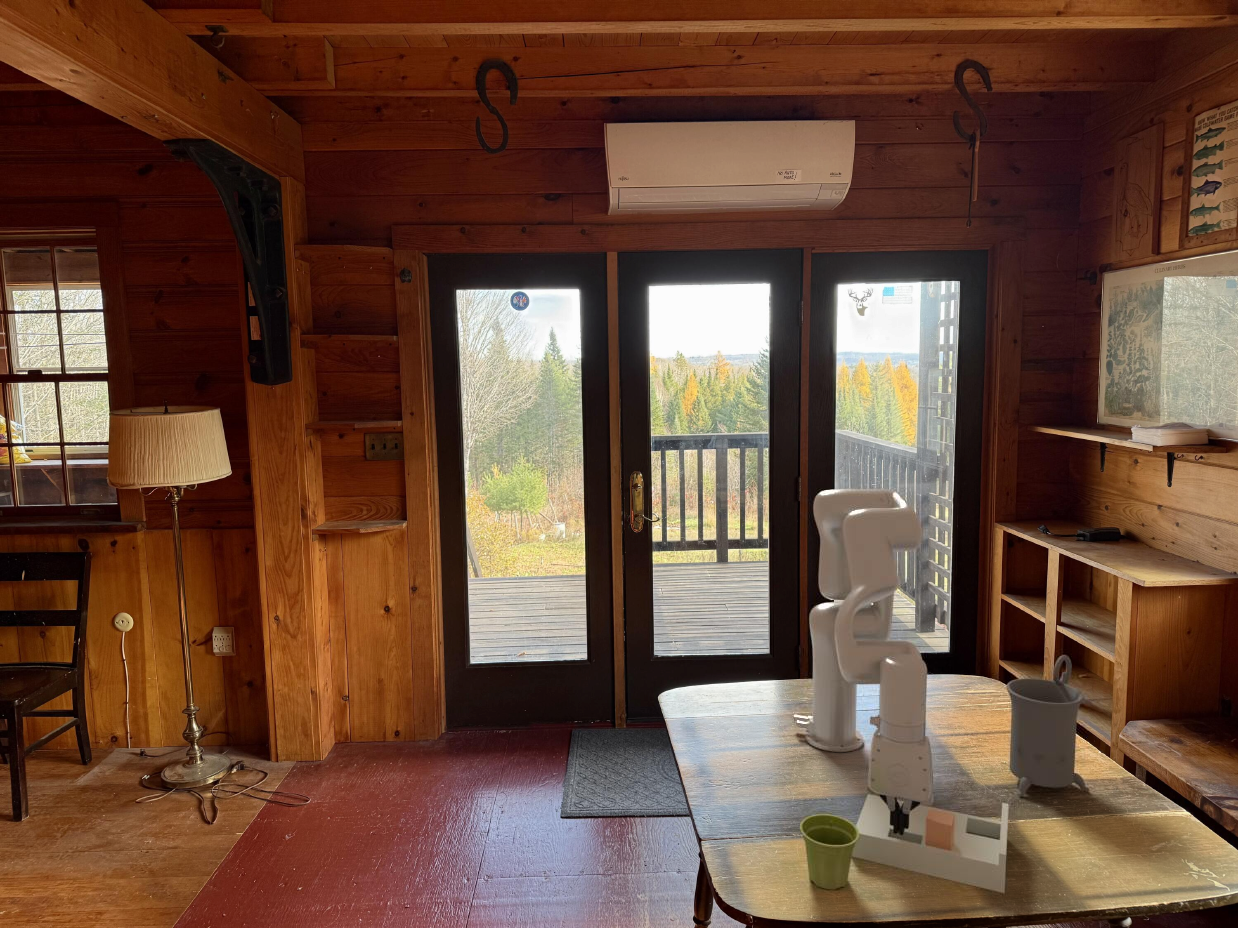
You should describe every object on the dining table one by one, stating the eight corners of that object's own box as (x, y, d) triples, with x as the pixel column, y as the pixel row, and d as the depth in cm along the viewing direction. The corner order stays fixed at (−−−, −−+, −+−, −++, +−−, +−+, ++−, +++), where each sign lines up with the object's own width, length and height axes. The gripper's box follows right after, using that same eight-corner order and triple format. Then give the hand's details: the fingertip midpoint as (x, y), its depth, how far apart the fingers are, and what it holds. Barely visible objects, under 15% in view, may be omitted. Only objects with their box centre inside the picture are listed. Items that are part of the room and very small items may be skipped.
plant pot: (859, 867, 139) (860, 818, 138) (856, 901, 130) (857, 849, 129) (802, 857, 142) (803, 809, 141) (796, 890, 133) (796, 839, 132)
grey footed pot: (1057, 813, 155) (1063, 684, 152) (983, 782, 167) (987, 662, 164) (1103, 782, 166) (1109, 661, 164) (1030, 755, 178) (1035, 643, 175)
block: (925, 847, 139) (925, 819, 139) (928, 835, 143) (929, 808, 142) (950, 853, 138) (951, 825, 137) (953, 841, 141) (954, 814, 140)
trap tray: (850, 856, 142) (851, 820, 142) (867, 808, 158) (868, 776, 157) (1004, 893, 132) (1006, 854, 131) (1007, 838, 147) (1008, 803, 146)
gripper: (852, 729, 141) (850, 831, 143) (947, 745, 134) (943, 852, 136) (860, 712, 147) (858, 810, 149) (951, 727, 141) (947, 829, 143)
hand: (899, 830), depth 143 cm, fingers closed
